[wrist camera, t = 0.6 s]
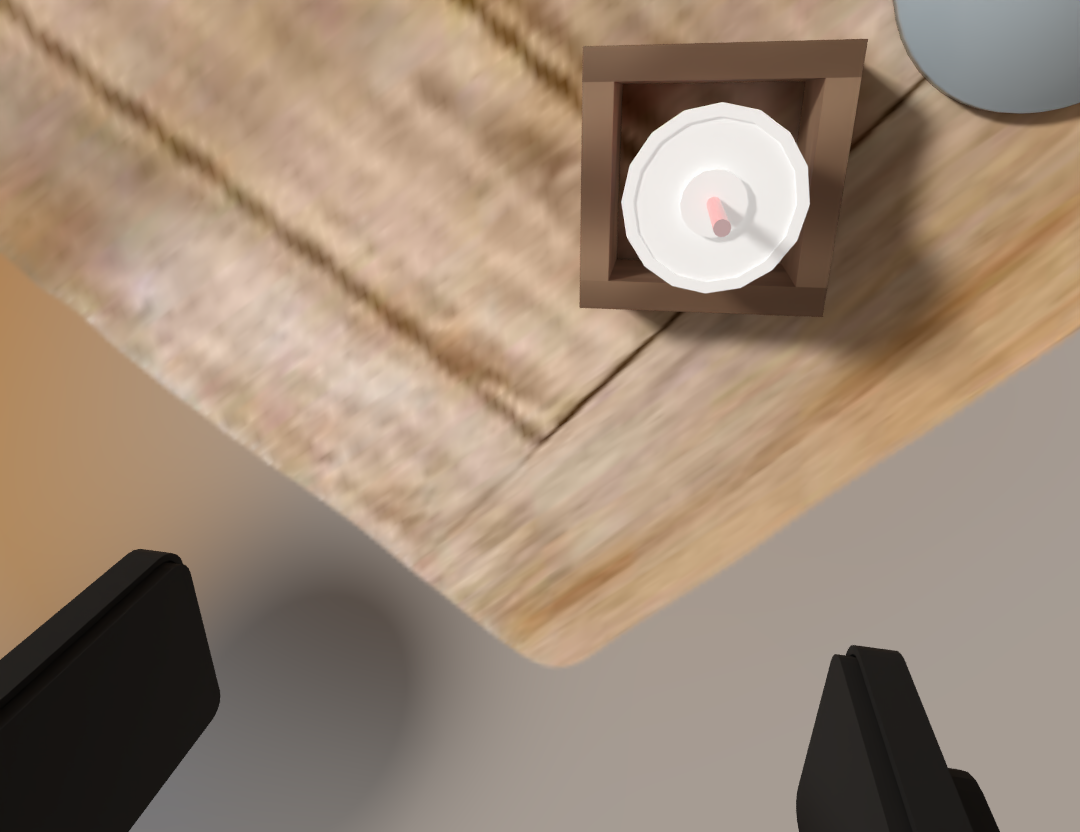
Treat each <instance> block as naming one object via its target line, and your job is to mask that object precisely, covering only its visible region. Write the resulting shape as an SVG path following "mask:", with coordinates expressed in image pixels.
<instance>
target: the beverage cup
mask: <svg viewBox="0 0 1080 832" xmlns="http://www.w3.org/2000/svg"><path fill="white" fill-rule="evenodd" d="M621 203H622V210H623V216H624V223H625V229H626V236H627V238H628V240H629V242H630V243H631V245H632V247H633V248H634V250H635V251H636V253H637V255H638V256H639V258H640V260H641V261H642V263H643V265H644V266H645V267H646V268H648V269H649V270H651V271H652V272H653V273H655V274H656V275H658V276H659V277H660V278H662V279H663V280H664V281H666V282H667V283H669V284H670V285H671V286H675V287H679V288H684V289H688V290H692V291H697V292H701V293H711V292H718V291H724V290H731V289H737V288H741V287H743V286H745V285H747V284H748V283H750V282H752V281H754V280H755V279H757V278H759V277H761V276H763V275H764V274H766V273H768V272H770V271H771V270H773V269H774V267H775V266H776V265H777V264H778V263H779V262H780V260H781V259H782V258H783V257H784V256H785V254H786V253H787V252H788V251H789V250H790V249H791V247H792V246H793V245H794V244H795V243H796V241H797V240H798V237H799V234H800V231H801V228H802V225H803V222H804V220H805V217H806V214H807V211H808V208H809V205H810V198H809V179H808V166H807V164H806V162H805V160H804V158H803V156H802V154H801V152H800V150H799V148H798V146H797V144H796V142H795V140H794V139H793V137H792V135H791V133H790V132H789V131H788V130H786V129H785V128H784V127H782V126H781V125H780V124H778V123H777V122H776V121H774V120H773V119H772V118H770V117H769V116H768V115H766V114H765V113H764V112H763V111H761V110H758V109H754V108H749V107H744V106H739V105H734V104H729V103H725V102H720V103H716V104H711V105H707V106H702V107H698V108H693V109H688V110H684V111H683V112H681V113H680V114H678V115H677V116H675V117H674V118H672V119H671V120H670V121H668V122H667V123H665V124H664V125H662V126H661V127H659V128H658V129H657V130H655V131H654V132H652V133H651V135H650V136H649V138H648V139H647V141H646V142H645V144H644V145H643V146H642V148H641V149H640V151H639V152H638V154H637V155H636V157H635V158H634V160H633V161H632V163H631V164H630V166H629V171H628V175H627V179H626V184H625V188H624V192H623V197H622V201H621Z"/></svg>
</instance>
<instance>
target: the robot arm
mask: <svg viewBox="0 0 1080 832" xmlns="http://www.w3.org/2000/svg"><path fill="white" fill-rule="evenodd" d="M219 703H220V690H219V686H218V682H217V678H216V674H215V670H214V666H213V662H212V658H211V654H210V650H209V646H208V642H207V638H206V633H205V629H204V625H203V621H202V617H201V613H200V609H199V605H198V601H197V597H196V593H195V589H194V585H193V581H192V577H191V574H190V571H189V568H188V567H187V566H186V565H183V563H182V560H181V558H180V557H179V556H178V555H176V554H173V553H166V552H159V551H152V550H144V549H138V550H133V551H132V552H130V553H129V554H127V555H126V556H125V557H123V558H122V559H121V560H120V561H119V562H118V563H116V564H115V565H114V566H113V567H111V568H110V569H109V570H108V571H107V572H105V573H104V574H103V575H102V576H101V577H99V578H98V579H97V580H96V581H95V582H93V583H92V584H91V585H90V586H89V587H87V588H86V589H85V590H84V591H83V592H81V593H80V594H79V595H78V596H77V597H75V599H73V600H72V601H71V602H69V603H68V604H67V605H66V606H64V607H63V608H62V609H61V610H60V611H58V613H56V614H55V615H54V616H53V617H51V618H50V619H49V620H48V621H46V622H45V623H44V624H43V625H42V626H40V627H39V628H38V629H37V630H36V631H34V632H33V633H32V634H31V635H30V636H29V637H27V638H26V639H25V640H24V641H22V643H20V644H19V645H18V646H16V647H15V648H14V649H13V650H12V651H11V652H9V653H8V654H7V655H6V656H4V657H3V658H2V659H1V660H0V832H129V830H130V829H131V827H132V826H133V825H134V824H135V822H136V821H137V820H138V818H139V817H140V816H141V814H142V813H143V812H144V810H145V809H146V808H147V806H148V805H149V803H150V802H151V801H152V800H153V798H154V797H155V795H156V794H157V793H158V791H159V790H160V789H161V787H162V786H163V785H164V783H165V782H166V781H167V779H168V778H169V777H170V775H171V774H172V773H173V771H174V770H175V769H176V767H177V766H178V765H179V763H180V762H181V761H182V759H183V758H184V757H185V755H186V754H187V753H188V751H189V750H190V749H191V747H192V746H193V744H194V743H195V742H196V741H197V739H198V738H199V737H200V735H201V734H202V733H203V731H204V730H205V729H206V727H207V726H208V724H209V723H210V722H211V721H212V719H213V717H214V716H215V714H216V712H217V709H218V707H219ZM796 812H797V822H798V828H799V832H1000V831H999V829H998V826H997V824H996V822H995V820H994V817H993V815H992V813H991V811H990V808H989V806H988V804H987V801H986V799H985V797H984V794H983V792H982V791H981V789H980V787H979V785H978V783H977V782H976V780H975V779H974V778H973V777H972V776H971V775H970V774H969V773H968V772H966V771H962V770H957V769H951V768H948V767H947V765H946V762H945V760H944V757H943V755H942V752H941V750H940V747H939V745H938V742H937V740H936V737H935V735H934V732H933V730H932V727H931V725H930V723H929V720H928V717H927V715H926V712H925V710H924V707H923V705H922V702H921V700H920V697H919V695H918V692H917V690H916V687H915V685H914V682H913V680H912V678H911V675H910V672H909V670H908V667H907V665H906V662H905V660H904V658H903V657H902V655H901V654H900V653H899V652H898V651H892V650H886V649H877V648H870V647H863V646H856V645H853V646H850V647H849V649H848V651H847V653H846V656H845V655H837V654H835V655H834V656H833V657H832V660H831V663H830V667H829V671H828V674H827V678H826V683H825V686H824V690H823V694H822V698H821V701H820V705H819V709H818V713H817V717H816V721H815V725H814V728H813V732H812V736H811V740H810V744H809V748H808V751H807V755H806V759H805V763H804V767H803V771H802V775H801V779H800V782H799V786H798V791H797V800H796Z"/></svg>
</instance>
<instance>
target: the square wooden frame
mask: <svg viewBox="0 0 1080 832" xmlns="http://www.w3.org/2000/svg"><path fill="white" fill-rule="evenodd" d="M867 42H868V39H846V40H808V41H770V42H733V43H695V44H657V45H619V46H583V79H582V159H581V239H580V308H602V309H628V310H654V311H680V312H707V313H733V314H759V315H785V316H812V317H822V316H823V310H824V304H825V298H826V292H827V286H828V280H829V273H830V267H831V261H832V255H833V249H834V243H835V237H836V231H837V225H838V219H839V213H840V206H841V200H842V194H843V188H844V182H845V176H846V170H847V164H848V158H849V152H850V145H851V139H852V133H853V127H854V121H855V115H856V109H857V103H858V97H859V91H860V84H861V78H862V72H863V66H864V60H865V54H866V48H867ZM777 81H805V88H804V96H803V103H802V111H801V118H800V126H799V133H798V141H797V146H798V148H799V150H800V152H801V154H802V156H803V158H804V160H805V162H806V164H807V166H808V179H809V198H810V205H809V208H808V211H807V214H806V217H805V220H804V222H803V225H802V228H801V231H800V234H799V237H798V240H797V241H796V243H795V244H794V245H793V246H792V247H791V249H790V250H789V251H788V252H787V253H786V254H785V256H784V257H783V258H782V260H781V263H778V264H777V265H776V266H775V267H774V269H773V270H771V271H770V272H768V273H766V274H764V275H763V276H761V277H759V278H757V279H755V280H754V281H752V282H750V283H748V284H747V285H745V286H743V287H741V288H737V289H731V290H724V291H718V292H711V293H701V292H697V291H692V290H688V289H684V288H679V287H675V286H671V285H670V284H669V283H667V282H666V281H664V280H663V279H662V278H660V277H659V276H658V275H656V274H655V273H653V272H652V271H651V270H649V269H648V268H646V267H645V266H644V265H643V263H642V261H641V260H630V259H617V236H618V207H619V178H620V149H621V120H622V91H623V84H660V83H719V82H777Z"/></svg>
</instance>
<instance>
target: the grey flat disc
mask: <svg viewBox="0 0 1080 832" xmlns="http://www.w3.org/2000/svg"><path fill="white" fill-rule="evenodd" d="M893 5H894V12H895V20H896V24H897V27H898V31H899V34H900V38H901V40H902V43H903V45H904V47H905V49H906V51H907V54H908V56H909V57H910V59H911V60H912V62H913V63H914V65H915V66H916V68H917V69H918V71H919V72H920V73H921V74H922V75H923V76H924V77H925V78H926V80H927V81H928V82H929V83H930V84H932V85H933V86H934V87H935V88H937V89H938V90H939V91H940V92H942V93H943V94H945V95H946V96H948V97H950V98H952V99H954V100H956V101H957V102H959V103H962V104H965V105H968V106H970V107H973V108H976V109H981V110H986V111H991V112H1003V113H1035V112H1044V111H1050V110H1055V109H1060V108H1064V107H1068V106H1071V105H1074V104H1077V103H1080V0H893Z"/></svg>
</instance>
